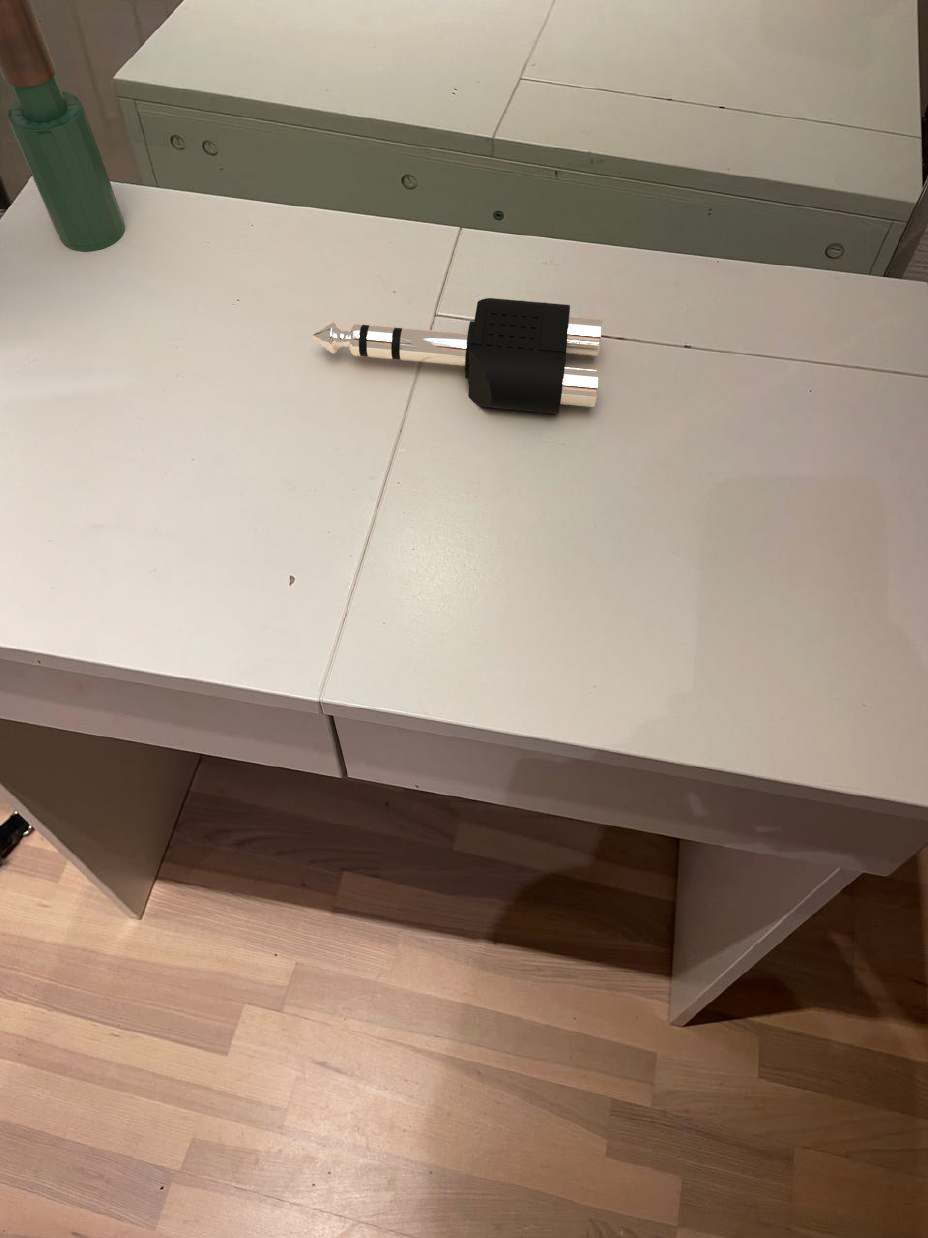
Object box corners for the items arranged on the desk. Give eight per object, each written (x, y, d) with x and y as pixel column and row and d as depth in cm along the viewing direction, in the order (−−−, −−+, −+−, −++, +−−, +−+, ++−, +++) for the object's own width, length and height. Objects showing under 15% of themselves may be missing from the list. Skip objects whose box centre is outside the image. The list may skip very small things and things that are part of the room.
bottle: (58, 254, 86) (-11, 97, 73) (61, 215, 89) (-6, 58, 76) (124, 247, 87) (67, 90, 74) (124, 208, 90) (70, 51, 77)
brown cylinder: (38, 91, 74) (-5, -18, 67) (-7, 81, 74) (-54, -27, 67) (66, 65, 76) (28, -43, 69) (22, 56, 76) (-20, -51, 70)
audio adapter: (600, 382, 70) (294, 354, 71) (591, 430, 74) (303, 402, 76) (605, 293, 75) (321, 269, 77) (596, 342, 80) (329, 318, 81)
